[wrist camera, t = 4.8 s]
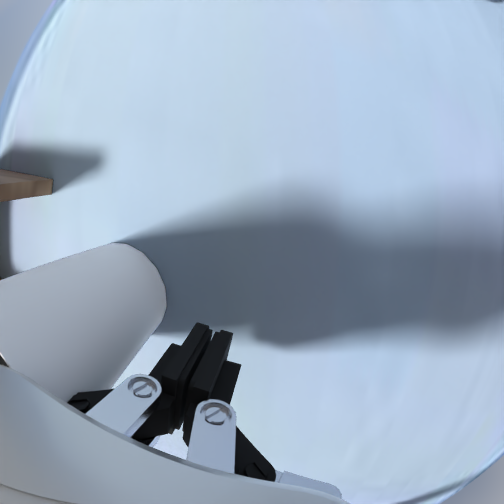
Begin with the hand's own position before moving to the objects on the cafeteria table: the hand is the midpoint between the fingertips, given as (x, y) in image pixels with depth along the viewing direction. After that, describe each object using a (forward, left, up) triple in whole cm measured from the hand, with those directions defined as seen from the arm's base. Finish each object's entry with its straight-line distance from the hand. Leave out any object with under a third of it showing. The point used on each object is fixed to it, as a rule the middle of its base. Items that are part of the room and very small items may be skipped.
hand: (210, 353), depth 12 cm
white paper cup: (0, -6, -3) cm, 7 cm away
